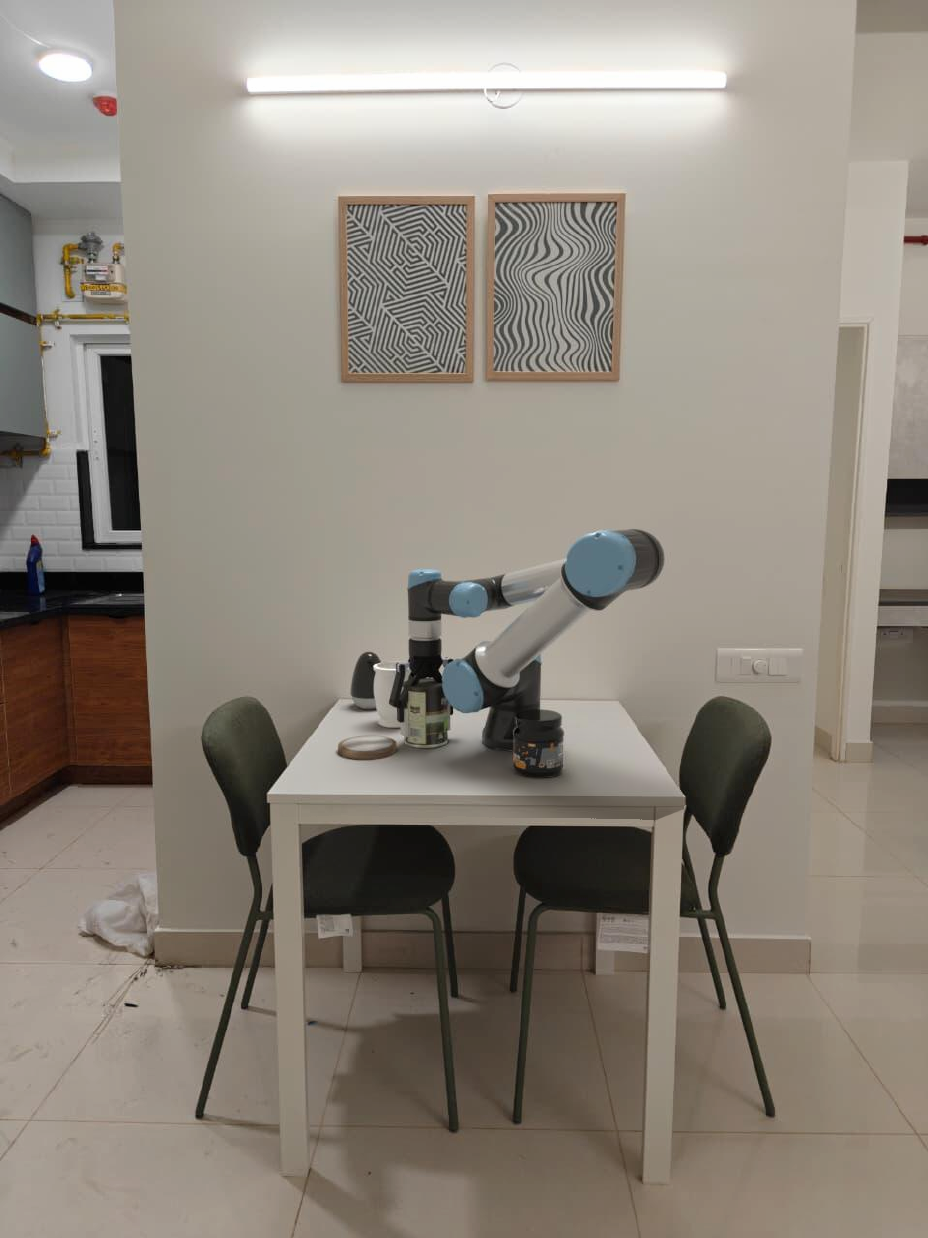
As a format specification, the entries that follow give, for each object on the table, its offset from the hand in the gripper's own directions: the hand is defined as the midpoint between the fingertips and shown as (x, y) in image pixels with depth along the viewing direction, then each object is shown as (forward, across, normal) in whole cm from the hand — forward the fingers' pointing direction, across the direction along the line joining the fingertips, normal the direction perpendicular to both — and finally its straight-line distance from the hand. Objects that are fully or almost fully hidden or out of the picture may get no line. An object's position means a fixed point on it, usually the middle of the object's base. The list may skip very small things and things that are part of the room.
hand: (425, 732), depth 189 cm
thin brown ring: (+2, +14, 0) cm, 14 cm away
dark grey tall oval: (+3, -1, -36) cm, 36 cm away
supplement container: (+3, -11, +30) cm, 32 cm away
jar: (+3, 0, -17) cm, 17 cm away
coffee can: (+2, 0, 0) cm, 2 cm away
